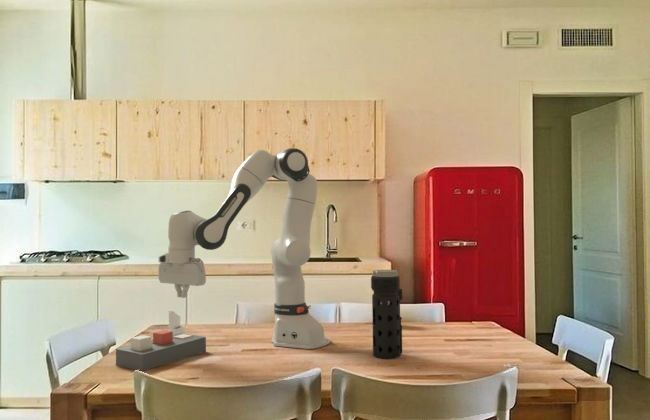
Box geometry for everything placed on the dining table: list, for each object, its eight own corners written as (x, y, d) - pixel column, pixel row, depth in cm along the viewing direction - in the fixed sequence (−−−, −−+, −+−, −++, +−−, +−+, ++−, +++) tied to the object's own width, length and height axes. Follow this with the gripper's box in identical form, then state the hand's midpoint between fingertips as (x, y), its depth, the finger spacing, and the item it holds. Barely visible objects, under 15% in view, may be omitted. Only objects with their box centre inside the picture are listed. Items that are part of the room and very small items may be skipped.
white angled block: (163, 333, 190) (168, 311, 195) (174, 340, 199) (179, 319, 203) (171, 333, 190) (177, 311, 194) (182, 341, 198) (187, 319, 203)
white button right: (192, 349, 172) (192, 335, 172) (182, 352, 168) (182, 338, 169) (183, 348, 174) (183, 334, 175) (173, 351, 171) (173, 336, 171)
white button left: (151, 352, 158) (151, 336, 158) (139, 355, 154) (139, 339, 154) (142, 350, 160) (142, 335, 160) (130, 353, 156) (130, 337, 157)
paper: (529, 357, 162) (529, 353, 162) (547, 373, 145) (547, 369, 145) (451, 356, 164) (451, 352, 164) (460, 371, 147) (460, 368, 147)
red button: (172, 346, 165) (172, 331, 165) (161, 349, 161) (161, 334, 161) (163, 344, 167) (163, 330, 167) (153, 347, 164) (153, 332, 164)
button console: (205, 351, 172) (205, 337, 172) (142, 371, 150) (142, 354, 150) (180, 346, 179) (180, 332, 179) (115, 364, 157) (115, 348, 157)
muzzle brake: (398, 350, 170) (368, 352, 168) (397, 269, 170) (367, 269, 169) (407, 358, 160) (376, 360, 159) (405, 271, 161) (375, 272, 159)
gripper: (209, 257, 169) (210, 298, 169) (169, 256, 180) (169, 294, 180) (195, 258, 164) (196, 300, 163) (155, 257, 175) (155, 296, 174)
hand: (182, 297), depth 172 cm, fingers closed
